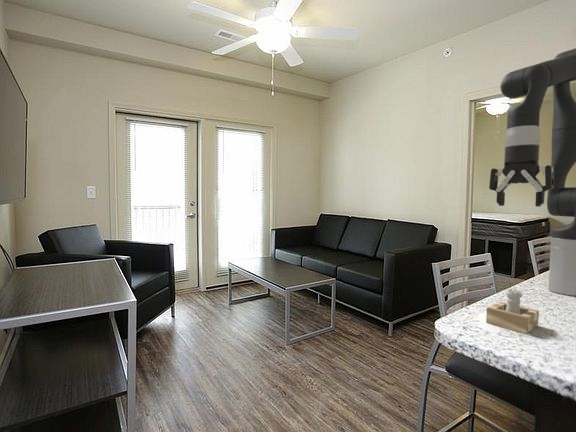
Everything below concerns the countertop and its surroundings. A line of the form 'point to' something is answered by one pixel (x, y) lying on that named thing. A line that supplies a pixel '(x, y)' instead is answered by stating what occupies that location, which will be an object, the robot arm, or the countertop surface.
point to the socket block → (512, 318)
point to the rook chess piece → (513, 301)
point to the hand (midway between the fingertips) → (519, 206)
